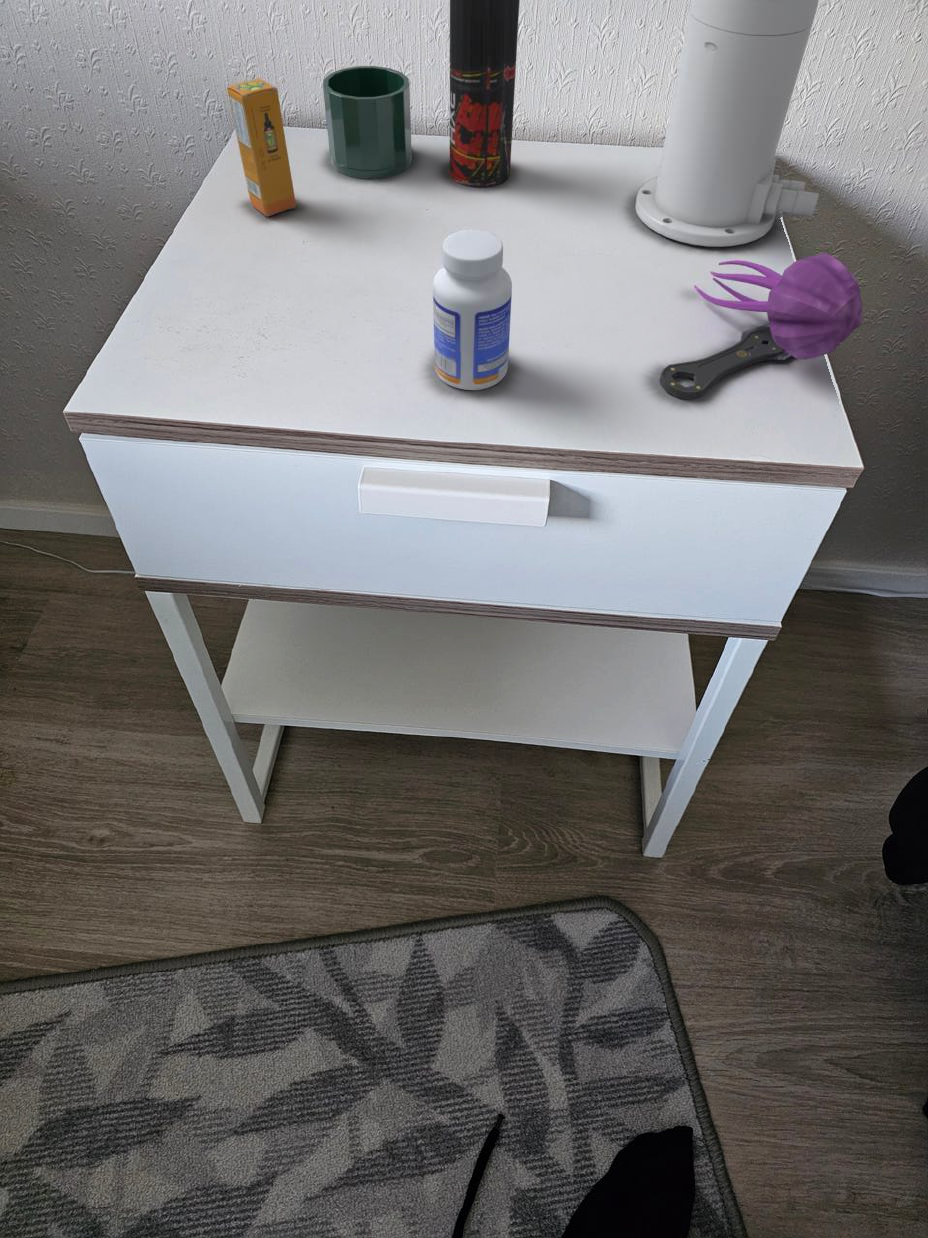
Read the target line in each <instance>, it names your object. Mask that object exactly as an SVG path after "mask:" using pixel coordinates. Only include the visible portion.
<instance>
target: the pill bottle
mask: <svg viewBox="0 0 928 1238" xmlns="http://www.w3.org/2000/svg"><path fill="white" fill-rule="evenodd" d="M441 251H442V252H441V263H442V268H440V269H439V270H438V271H437V272H436V274H435V276H434V278H433V281H432V283H433V284H432V311H433V313H432V315H433V316H432V317H433V318H432V319H433V350H434V351H433V352H434V368H435V371H436V374H437V376H438V377H439V379H440V380H441V381H442V382H444V383H445V384H447V385H448V386H451V387H453V388H456V389H460V390H467V391H480V390H485V389H488V388H491V387H493V386H495V385H496V384H498V383H499V382H501V381H502V380H503V379H504V378H505V376H506V375H507V373H508V369H509V367H508V366H509V356H510V355H509V353H510V352H509V351H510V335H511V314H512V313H511V312H512V294H513V283H512V278H511V276H510V274H509V272H508V271H507V270H506V268H504V267H503V265H504V264H503V262H504V245H503V241H502V240H501V238H500V237H499V236H497V235H495V234H494V233H492V232H489V231H486V230H482V229H462V230H459V231H456V232H453V233H451V234H449V235H448V236H446V238H444V240H443V242H442V249H441Z"/></svg>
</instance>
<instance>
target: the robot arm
mask: <svg viewBox="0 0 928 1238" xmlns="http://www.w3.org/2000/svg"><path fill="white" fill-rule="evenodd" d="M819 2H820V0H690V3H689V9H688V14H687V21H686V25H685V26H686V27H685V32H684V38H683V42H682V47H681V53H680V58H679V62H678V67H677V68H678V69H677V74H676V79H675V84H674V89H673V93H672V98H671V99H672V100H671V104H670V110H669V114H668V115H669V116H668V121H667V127H666V131H665V137H664V143H663V148H662V153H661V158H660V164H659V169H658V174H657V176H656V177H653V178H651V179H649V180H648V181H647V182H645V183H644V184H642V185H641V187H640V188H639V189H638V191H637V194H636V199H635V200H636V201H635V207H634V208H635V211H636V215H637V216H638V218H639V220H640V221H641V222H642V223H643V224H644V225H645V226H647V227H648V228H649V229H651V230H652V231H654V232H655V233H657V234H659V235H661V236H664V237H665V238H667V239H670V240H671V239H672V240H674V241H677V242H680V243H684V244H688V245H692V246H703V247H715V248H723V247H725V248H726V247H736V246H740V245H746V244H749V243H751V242H755V241H757V240H758V239H760V238H762V237H764V236H765V235H767V233H768V232H770V231H771V229H772V227H773V225H774V222H775V218H776V214H777V212H783V213H788V214H791V215H793V216H800V217H805V218H812V217H813V216H814V214H815V211H816V207H817V204H818V200H819V198H820V197H819V196H820V193H818V192H813V191H806V190H805V188H806V183H807V182H806V181H799V180H793V179H791V180H787V179H781V178H780V177H781V176H780V175H779V174H775V173H774V172H775V168H776V164H777V158H775V155H776V152H777V149H778V145H779V142H780V138H781V135H782V130H783V128H784V125H785V121H786V117H787V114H788V110H789V108H790V103H791V100H792V97H793V93H794V90H795V87H796V83H797V79H798V76H799V73H800V69H801V66H802V63H803V59H804V55H805V51H806V48H807V44H808V41H809V39H810V34H811V31H812V29H813V28H812V27H813V24H814V20H815V17H816V14H817V10H818V7H819Z"/></svg>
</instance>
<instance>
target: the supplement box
mask: <svg viewBox="0 0 928 1238" xmlns="http://www.w3.org/2000/svg"><path fill="white" fill-rule="evenodd" d="M226 91H227V96H228V100H229V105H230V111H231V115H232V120H233V124H234V129H235V134H236V140H237V144H238V149H239V154H240V159H241V164H242V169H243V174H244V177H245V182H246V188H247V192H248V196H249V201H250V204H251V206H252V207H253V208H254V209H256V210H257V211H258V212H259V213H261V214H262V215H264V216H265V217H267V218H268V217H270V216H274V215H276V214H278V213H282V212H285V211H288V210H292V209H295V208H296V207H297V202H296V197H295V191H294V184H293V178H292V177H293V176H292V172H291V166H290V160H289V153H288V148H287V142H286V140H287V139H286V134H285V129H284V123H283V122H284V121H283V117H282V110H281V104H280V97H279V90H278V88H277V87H275V86H274V85H272V84H271V83H269V82H268V81H265V80H264V79H261V78H260V77H257V78H254V79H249V80H245V81H242V82H239V83H235V84H230V85H228V86H227V87H226Z"/></svg>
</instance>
